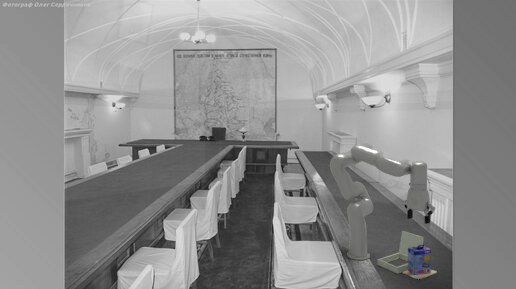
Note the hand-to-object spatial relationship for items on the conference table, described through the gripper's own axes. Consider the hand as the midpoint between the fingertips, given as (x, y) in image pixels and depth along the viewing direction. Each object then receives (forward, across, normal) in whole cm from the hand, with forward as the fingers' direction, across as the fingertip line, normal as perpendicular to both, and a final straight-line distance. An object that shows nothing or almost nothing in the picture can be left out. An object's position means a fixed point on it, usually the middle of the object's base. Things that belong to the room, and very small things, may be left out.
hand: (418, 220), depth 175 cm
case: (+27, -11, +1) cm, 29 cm away
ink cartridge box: (+26, +1, 0) cm, 26 cm away
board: (+27, +1, 0) cm, 27 cm away
